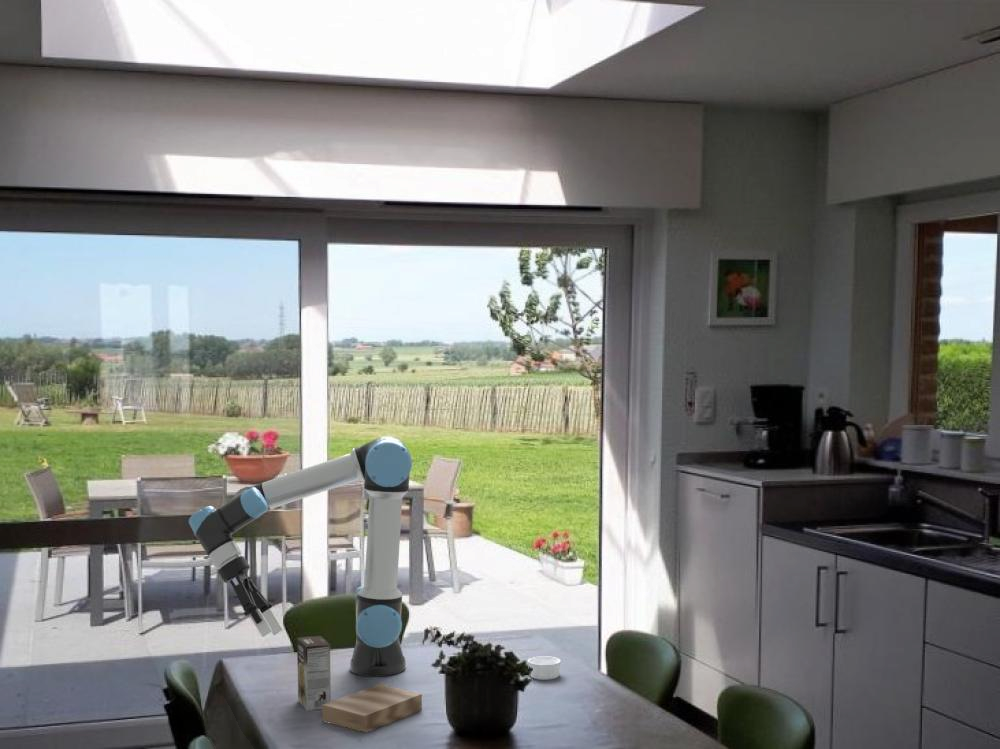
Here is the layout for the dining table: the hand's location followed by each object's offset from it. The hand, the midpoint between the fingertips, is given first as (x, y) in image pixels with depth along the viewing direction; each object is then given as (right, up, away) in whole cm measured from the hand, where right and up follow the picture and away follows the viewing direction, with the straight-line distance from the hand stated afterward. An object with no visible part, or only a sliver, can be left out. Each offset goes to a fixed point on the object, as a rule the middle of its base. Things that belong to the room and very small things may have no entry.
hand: (273, 633), depth 303 cm
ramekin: (+69, -16, +18) cm, 73 cm away
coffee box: (+11, -17, -5) cm, 21 cm away
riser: (+27, -17, -14) cm, 35 cm away
